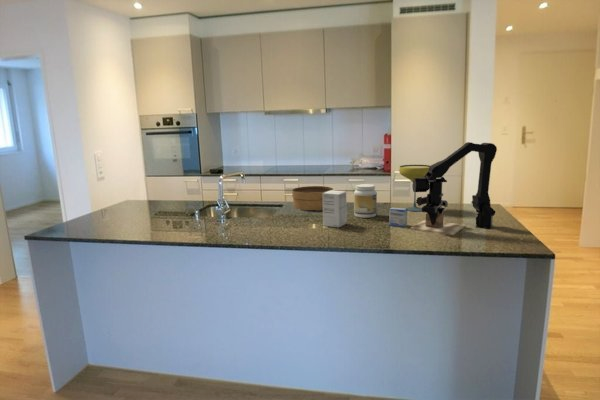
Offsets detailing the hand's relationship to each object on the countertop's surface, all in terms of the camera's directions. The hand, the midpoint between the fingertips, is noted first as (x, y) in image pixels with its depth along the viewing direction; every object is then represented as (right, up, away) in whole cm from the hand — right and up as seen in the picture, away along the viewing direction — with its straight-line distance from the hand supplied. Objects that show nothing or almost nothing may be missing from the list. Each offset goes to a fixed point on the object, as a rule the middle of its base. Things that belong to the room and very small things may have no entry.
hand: (434, 223), depth 201 cm
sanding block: (0, -1, 0) cm, 1 cm away
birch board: (+2, -2, +1) cm, 3 cm away
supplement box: (-46, -1, +13) cm, 48 cm away
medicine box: (-16, -1, +8) cm, 17 cm away
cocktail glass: (+2, +6, +43) cm, 43 cm away
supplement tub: (-28, +2, +31) cm, 42 cm away
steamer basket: (-56, +7, +60) cm, 82 cm away
